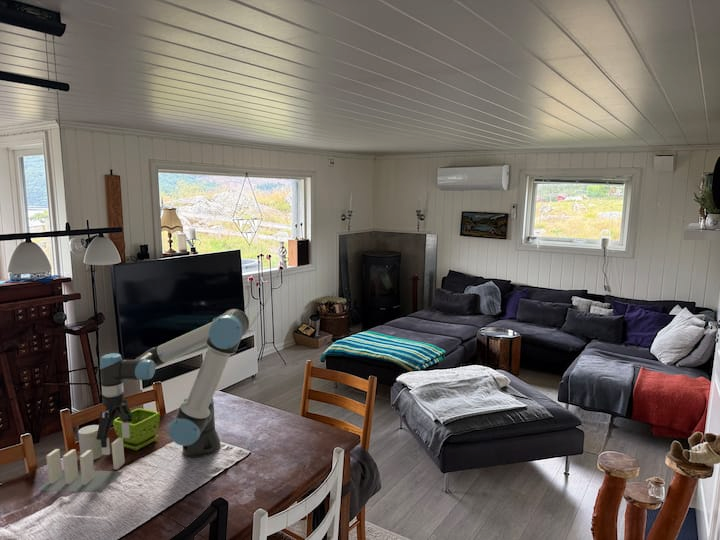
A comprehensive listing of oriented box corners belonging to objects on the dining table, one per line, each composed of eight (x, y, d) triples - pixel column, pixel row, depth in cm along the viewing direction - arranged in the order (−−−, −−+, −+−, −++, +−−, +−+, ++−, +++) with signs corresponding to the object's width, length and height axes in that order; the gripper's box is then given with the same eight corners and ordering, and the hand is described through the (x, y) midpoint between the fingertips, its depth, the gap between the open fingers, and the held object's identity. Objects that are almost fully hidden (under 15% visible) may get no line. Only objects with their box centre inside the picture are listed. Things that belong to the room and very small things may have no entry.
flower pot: (140, 433, 222) (138, 407, 221) (163, 439, 216) (161, 412, 215) (113, 447, 210) (111, 419, 208) (136, 454, 204) (133, 425, 202)
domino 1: (62, 476, 187) (59, 449, 186) (53, 483, 182) (50, 455, 181) (58, 476, 187) (55, 448, 186) (49, 483, 182) (46, 455, 181)
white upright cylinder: (93, 462, 198) (90, 434, 196) (76, 461, 199) (73, 433, 198) (107, 452, 206) (105, 425, 204) (90, 451, 207) (88, 424, 206)
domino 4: (124, 463, 196) (122, 437, 195) (117, 470, 192) (115, 443, 190) (121, 463, 197) (118, 437, 195) (113, 470, 192) (111, 443, 190)
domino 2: (78, 476, 187) (75, 449, 185) (69, 484, 182) (66, 456, 180) (74, 476, 187) (71, 449, 185) (65, 484, 182) (62, 456, 180)
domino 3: (94, 477, 186) (92, 449, 185) (86, 484, 181) (83, 456, 180) (90, 477, 186) (88, 449, 185) (82, 484, 181) (79, 456, 180)
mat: (123, 472, 190) (123, 471, 190) (101, 493, 176) (101, 492, 176) (62, 470, 192) (62, 469, 192) (36, 491, 178) (35, 490, 178)
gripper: (121, 382, 203) (125, 430, 206) (83, 406, 178) (87, 461, 181) (139, 382, 202) (142, 431, 205) (102, 407, 178) (106, 462, 180)
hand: (116, 445), depth 193 cm, fingers open, 13 cm apart
